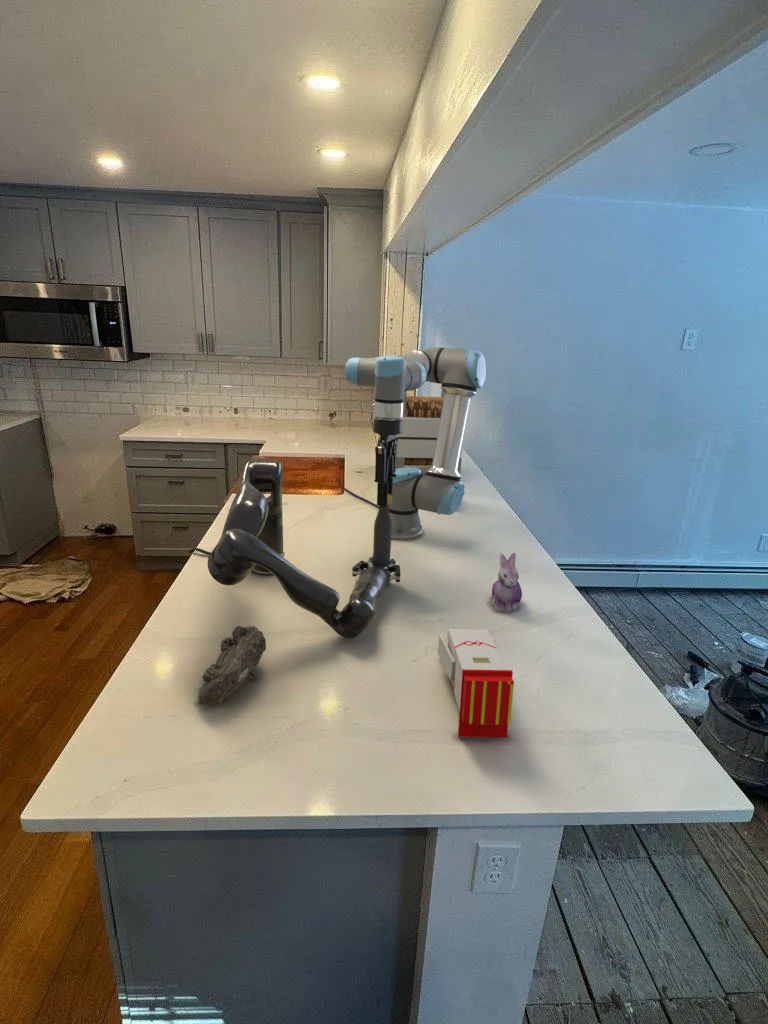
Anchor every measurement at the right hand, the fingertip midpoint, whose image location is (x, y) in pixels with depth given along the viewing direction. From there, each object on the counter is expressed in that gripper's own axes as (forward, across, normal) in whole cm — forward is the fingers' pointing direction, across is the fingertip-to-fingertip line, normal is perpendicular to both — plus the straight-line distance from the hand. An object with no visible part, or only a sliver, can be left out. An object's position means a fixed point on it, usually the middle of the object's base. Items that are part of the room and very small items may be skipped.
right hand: (384, 502), depth 156 cm
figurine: (+25, 0, +36) cm, 43 cm away
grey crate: (+25, -118, -17) cm, 122 cm away
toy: (+24, +41, +32) cm, 58 cm away
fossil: (+24, +53, -16) cm, 60 cm away
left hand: (+19, -2, 0) cm, 19 cm away
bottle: (+25, 0, 0) cm, 25 cm away
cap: (-2, 0, 0) cm, 2 cm away
